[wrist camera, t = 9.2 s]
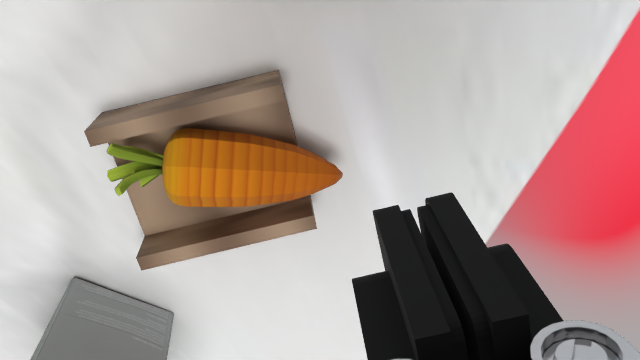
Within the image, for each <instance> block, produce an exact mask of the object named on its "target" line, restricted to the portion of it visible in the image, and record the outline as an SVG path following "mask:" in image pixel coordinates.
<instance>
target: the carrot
mask: <svg viewBox="0 0 640 360" xmlns="http://www.w3.org/2000/svg"><path fill="white" fill-rule="evenodd" d="M107 153H108V154H110V155H112V156H115V157H118V158H122V159H126V160H132V161H134V162H131V163H128V164H124V165H121V166H119V167H116V168H113V169H111V170H108V178H109V180H110V181H112V182H113V181H116V180H119V179H122V178H124V179H123V180H122V181H121V182H120V183H119V184H118V185H117V186H116V188H115V192H116V194H117V195H121V194H123V192H124V191H125V190H126V189H127V188H128V187H129V186H130V185H132V184H133V183H135V182H136V181H138V180H140V185H141V187H144V186H145V185H147V184H148V183H150V182H151V181H152V180H154V179H155V178H156V177H158V176H159V175H163V184H164V188H165V191H166V194H167V196H168V198H169V199H170V200H171V201H172V202H173V203H174V204H177V205H180V206H186V207H247V206H255V205H263V204H271V203H277V202H283V201H290V200H294V199H298V198H301V197H304V196H307V195H310V194H313V193H316V192H318V191H320V190H322V189H325V188H327V187H329V186H331V185H333V184H335V183H336V182H337V181H338V180H340V179H341V178H342V172H341V171H340V170H339V169H338V168H337V167H336V166H335V165H334V164H332V163H330V162H328V161H327V160H325V159H323V158H321V157H320V156H318V155H316V154H314V153H312V152H309V151H307V150H305V149H302V148H300V147H298V146H295V145H292V144H288V143H284V142H281V141H277V140H273V139H269V138H264V137H260V136H255V135H251V134H243V133H235V132H226V131H217V130H205V129H193V128H184V129H180V130H177V131H176V132H175V133H174V134H172V135H171V137H170V139H169V140H168V142H167V145H166V147H165V151H164V155H160V154H156V153H153V152H150V151H147V150H144V149H141V148H137V147H131V146H121V145H118V144H115V143H111V144H110V145H109V147H108V149H107Z"/></svg>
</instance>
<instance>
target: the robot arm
mask: <svg viewBox="0 0 640 360" xmlns="http://www.w3.org/2000/svg"><path fill="white" fill-rule="evenodd" d="M425 203H426V206H421V207H418V208H417V211H418V218H419V223H420V229H421V233H420V230H419V228H418V226H417V224H416V221H415V219H414V217H413V215H412V213H411V210H410V209H408V210H404V211H401V210H400V208H399V206H398V205H396V206H391V207H387V208H383V209H378V210H374V211H373V215H374V220H375V225H376V230H377V234H378V239H379V244H380V248H381V253H382V258H383V262H384V267H385V271H384V272H380V273H376V274H371V275H367V276H363V277H358V278H354V279H352V283H353V288H354V293H355V298H356V303H357V308H358V313H359V318H360V323H361V328H362V333H363V338H364V343H365V348H366V353H367V358H368V360H640V352H639V351H638V350H637V349H636V348H635V347H633V346H632V345H631V344H630V343H629V342H628V341H627V340H626V339H625V338H624V337H622V336H621V335H619V334H617V333H616V332H615V331H613V330H612V329H610V328H607V327H605V326H602V325H600V324H597V323H592V322H586V321H563V320H562V318H561V317H560V315H559V314H558V312H557V311H556V310H555V308H554V307H553V305H552V304H551V303H550V301H549V300H548V298H547V297H546V295H545V294H544V292H543V291H542V290H541V288H540V287H539V285H538V284H537V283H536V281H535V280H534V278H533V277H532V276H531V274H530V273H529V271H528V270H527V268H526V267H525V266H524V264H523V263H522V261H521V260H520V258H519V257H518V256H517V254H516V253H515V252H514V250H513V249H512V247H511V246H510V245H509V244H502V245H498V246H493V247H489V248H487V247H486V245H485V243H484V242H483V240H482V239H481V237H480V235H479V234H478V232H477V231H476V229H475V228H474V226H473V224H472V223H471V221H470V220H469V218H468V216H467V215H466V213H465V212H464V210H463V209H462V207H461V205H460V204H459V202H458V201H457V199H456V197H455V196H454V194H453V193H447V194H443V195H438V196H434V197H430V198H426V200H425Z"/></svg>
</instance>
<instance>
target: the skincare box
mask: <svg viewBox="0 0 640 360" xmlns="http://www.w3.org/2000/svg"><path fill="white" fill-rule="evenodd" d="M173 316H174V314H173V313H172V312H169V311H166V310H163V309H161V308H158V307H155V306H152V305H149V304H147V303H144V302H141V301H138V300H135V299H133V298H130V297H127V296H124V295H122V294H119V293H116V292H113V291H111V290H108V289H105V288H103V287H100V286H97V285H94V284H92V283H89V282H86V281H83V280H80V279H78V278H73V279H72V280H71V282H70V284H69V286H68V288H67V290H66V292H65V294H64V296H63V298H62V299H61V301H60V303H59V305H58V307H57V309H56V311H55V313H54V315H53V317H52V319H51V321H50V322H49V324H48V326H47V328H46V330H45V332H44V334H43V336H42V338H41V340H40V342H39V344H38V346H37V348H36V350H35V352H34V354H33V356H32V358H31V360H167V354H168V348H169V342H170V336H171V330H172V323H173Z"/></svg>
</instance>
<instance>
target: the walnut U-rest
mask: <svg viewBox="0 0 640 360" xmlns="http://www.w3.org/2000/svg"><path fill="white" fill-rule="evenodd" d="M184 128H193V129H205V130H217V131H226V132H235V133H243V134H251V135H255V136H260V137H264V138H269V139H273V140H277V141H281V142H284V143H288V144H292V145H295V146H298V145H297V141H296V137H295V133H294V129H293V125H292V121H291V117H290V113H289V109H288V105H287V101H286V97H285V93H284V89H283V85H282V81H281V77H280V73H279V70H278V71H273V72H269V73H265V74H261V75H257V76H253V77H248V78H244V79H240V80H236V81H232V82H227V83H223V84H219V85H215V86H211V87H207V88H202V89H198V90H194V91H190V92H186V93H181V94H177V95H173V96H169V97H165V98H161V99H156V100H152V101H148V102H144V103H140V104H136V105H131V106H127V107H123V108H119V109H115V110H110V111H106V112H102V113H101V114H100V115H99V116H98V117H97V118H96V119H95V120H94V121H93V123H92V124H91V125H90V126H89V127H88V128H87V129H86V130H85V131H84V132H85V134H86V137H87V139H88V142H89V144H90V147H92V146H96V145H100V144H104V143H108V144H109V145H110V144H111V143H115V144H118V145H121V146H131V147H137V148H141V149H144V150H147V151H150V152H153V153H156V154H160V155H164V151H165V147H166V145H167V142H168V140H169V139H170V137H171V135H172V134H174V133H175V132H176V131H177V130H180V129H184ZM113 157H114V159H115V162H116V164H117V167H119V166H121V165H124V164H128V163H131V162H134V161H132V160H126V159H122V158H118V157H115V156H113ZM122 179H124V178H122ZM127 192H128V194H129V197H130V200H131V202H132V205H133V207H134V210H135V212H136V215H137V217H138V220H139V222H140V225H141V227H142V230H143V232H144V235H145V237H144V240H143V242H142V245H141V247H140V250H139V252H138V255H137V257H136V259H137V261H138V263H139V266H140V268H141V270H145V269H149V268H154V267H158V266H162V265H166V264H170V263H175V262H179V261H183V260H187V259H191V258H195V257H200V256H204V255H208V254H212V253H216V252H221V251H225V250H229V249H233V248H237V247H241V246H246V245H250V244H254V243H258V242H262V241H267V240H271V239H275V238H279V237H283V236H287V235H292V234H296V233H300V232H304V231H308V230H313V229H317V227H316V222H315V217H314V211H313V206H312V201H311V197H310V195H307V196H304V197H301V198H298V199H294V200H290V201H283V202H277V203H271V204H263V205H255V206H247V207H186V206H180V205H177V204H174V203H173V202H172V201H171V200H170V199H169V198H168V196H167V194H166V191H165V188H164V184H163V175H159V176H158V177H156V178H155V179H154V180H152V181H151V182H150V183H148V184H147V185H145V186H144V187H141V185H140V180H138V181H136V182H135V183H133V184H132V185H130V186H129V187H128V188H127Z"/></svg>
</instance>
